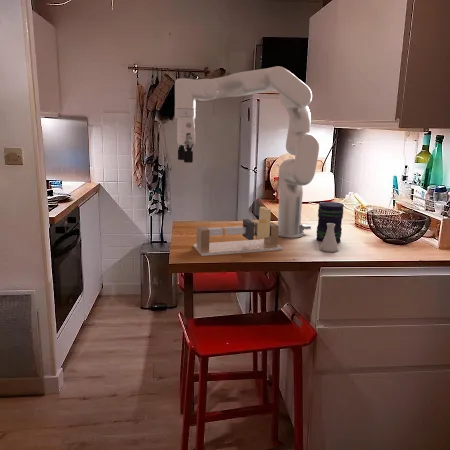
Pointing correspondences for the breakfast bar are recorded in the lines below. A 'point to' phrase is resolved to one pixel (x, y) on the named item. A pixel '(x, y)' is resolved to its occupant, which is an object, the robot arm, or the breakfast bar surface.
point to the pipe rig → (234, 246)
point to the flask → (329, 240)
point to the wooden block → (263, 223)
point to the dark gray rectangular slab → (249, 229)
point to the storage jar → (329, 219)
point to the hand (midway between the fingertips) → (185, 161)
